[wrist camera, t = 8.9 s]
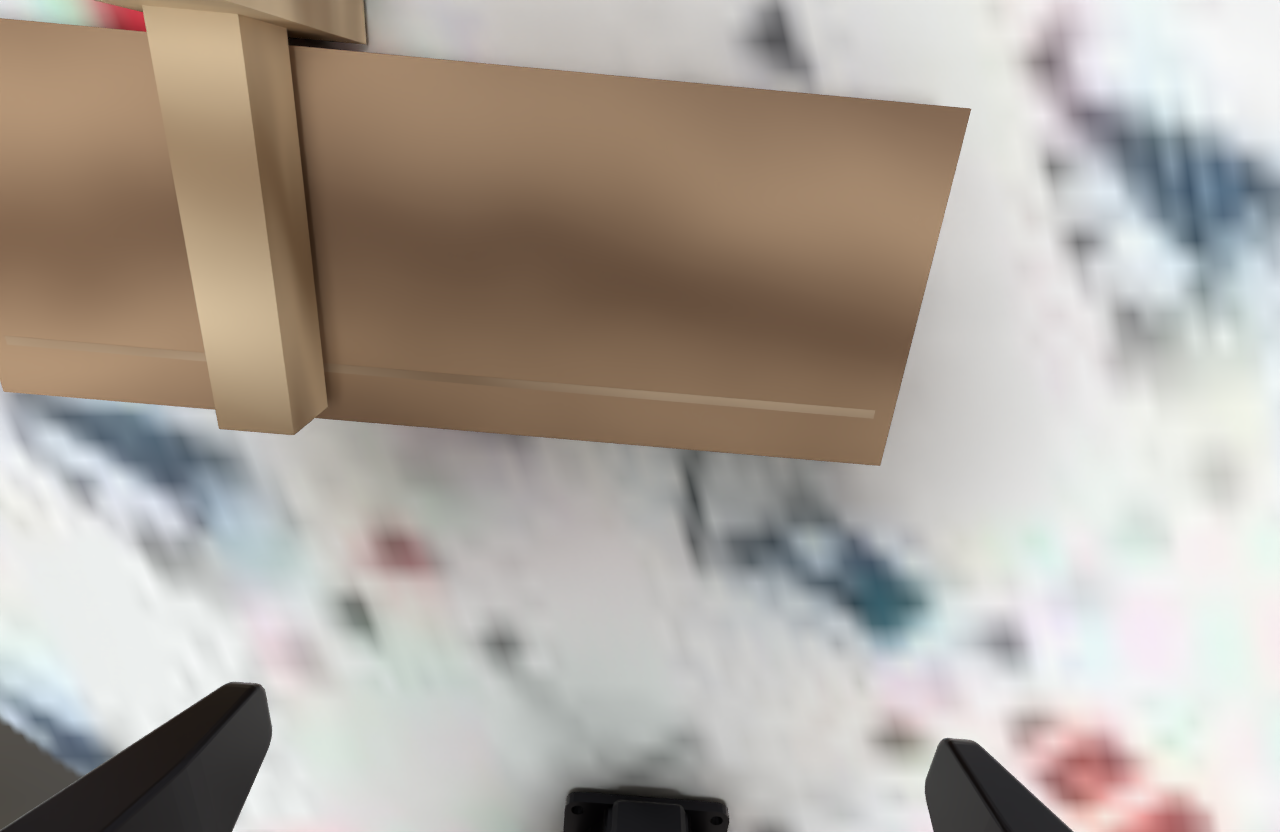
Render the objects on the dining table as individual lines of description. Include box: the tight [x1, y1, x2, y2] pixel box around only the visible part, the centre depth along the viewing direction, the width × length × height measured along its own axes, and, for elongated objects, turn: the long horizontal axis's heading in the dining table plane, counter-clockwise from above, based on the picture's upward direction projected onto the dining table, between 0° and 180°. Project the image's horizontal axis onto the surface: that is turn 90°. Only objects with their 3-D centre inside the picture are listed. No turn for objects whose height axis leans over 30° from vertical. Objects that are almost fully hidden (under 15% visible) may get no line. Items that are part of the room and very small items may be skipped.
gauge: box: [95, 0, 366, 435], centre depth 14 cm, size 14×4×7 cm, turn 175°
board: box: [0, 18, 971, 466], centre depth 17 cm, size 9×24×2 cm, turn 85°
